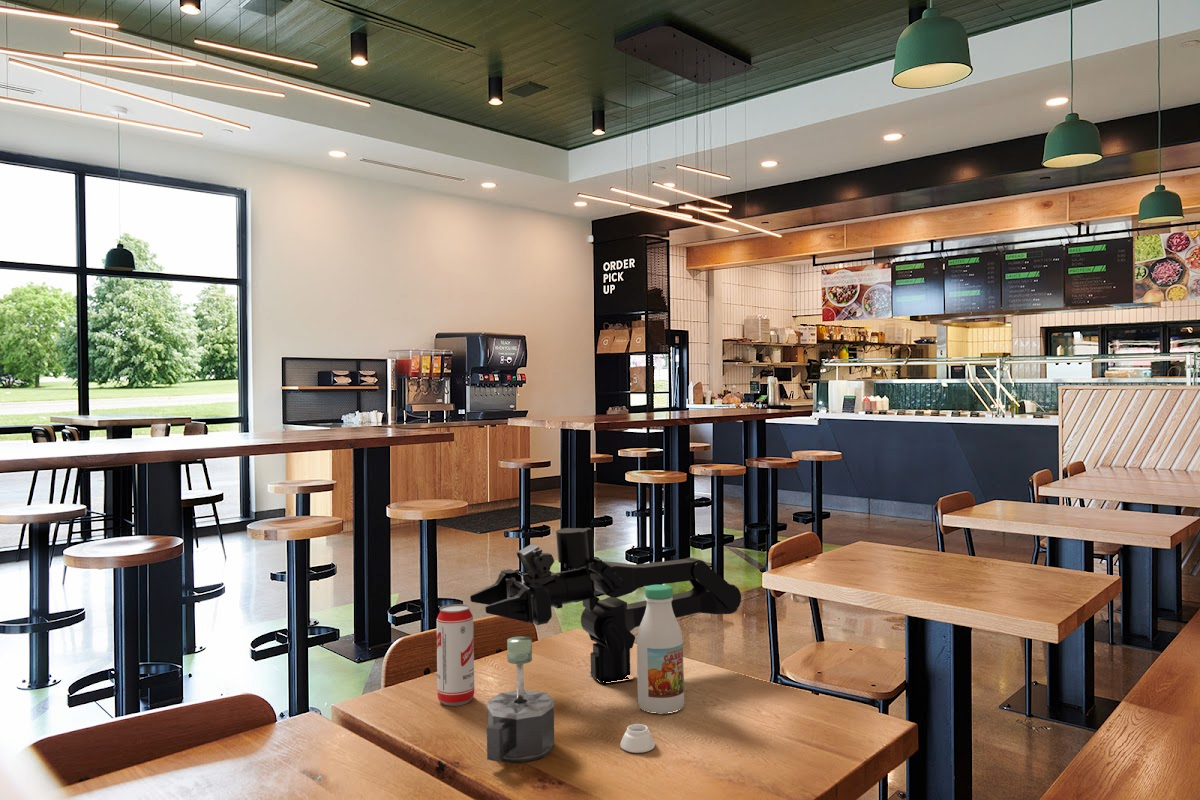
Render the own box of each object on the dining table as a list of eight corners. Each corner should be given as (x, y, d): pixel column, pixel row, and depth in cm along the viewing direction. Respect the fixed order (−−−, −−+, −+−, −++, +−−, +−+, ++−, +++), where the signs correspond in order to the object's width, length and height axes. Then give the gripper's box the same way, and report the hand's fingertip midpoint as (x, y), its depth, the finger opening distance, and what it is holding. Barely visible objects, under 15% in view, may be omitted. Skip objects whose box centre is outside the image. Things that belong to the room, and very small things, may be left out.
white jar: (652, 756, 114) (656, 742, 119) (651, 735, 114) (656, 722, 119) (617, 754, 115) (624, 740, 120) (617, 733, 115) (623, 720, 120)
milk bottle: (631, 712, 131) (629, 590, 131) (646, 696, 138) (644, 580, 138) (676, 718, 128) (674, 593, 128) (689, 702, 135) (687, 583, 136)
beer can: (478, 694, 141) (477, 603, 141) (469, 707, 134) (467, 612, 135) (443, 693, 141) (442, 603, 141) (432, 707, 135) (431, 611, 135)
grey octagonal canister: (510, 733, 123) (509, 687, 123) (563, 741, 120) (562, 694, 120) (465, 765, 112) (464, 715, 112) (522, 776, 108) (521, 724, 108)
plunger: (516, 701, 120) (515, 635, 120) (537, 704, 118) (536, 637, 118) (503, 709, 116) (502, 641, 117) (525, 712, 115) (524, 644, 115)
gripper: (539, 537, 153) (459, 549, 146) (578, 551, 136) (490, 566, 129) (544, 594, 153) (464, 610, 146) (583, 616, 136) (495, 635, 129)
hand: (477, 604), depth 138 cm, fingers open, 9 cm apart
